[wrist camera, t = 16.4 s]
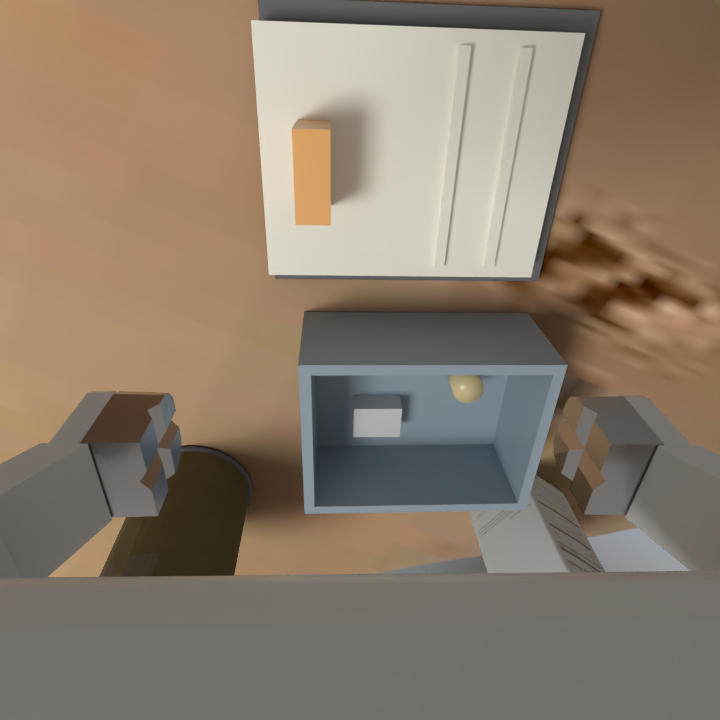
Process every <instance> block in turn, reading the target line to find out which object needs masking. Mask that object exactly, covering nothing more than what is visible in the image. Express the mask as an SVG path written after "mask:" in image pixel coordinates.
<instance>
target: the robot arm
mask: <svg viewBox="0 0 720 720" xmlns="http://www.w3.org/2000/svg"><path fill="white" fill-rule="evenodd" d="M175 410H176V409H175V405H174V401H173V397H172V396H171V395H170V394H169V393H158V392H123V391H119V392H116V391H92V392H90V393H87V394H86V395H85V397H84V398H83V399H82V401H81V402H80V403H79V404H78V406H77V407H76V408H75V410H74V411H73V412H72V414H71V415H70V416H69V417H68V419H67V420H66V421H65V423H64V424H63V425H62V427H61V428H60V429H59V431H58V432H57V433H56V434H55V436H54V437H53V438H52V440H51V441H50V442H49V443H40V444H38V445H36V446H34V447H32V448H31V449H29V450H27V451H25V452H23V453H21V454H19V455H17V456H15V457H13V458H11V459H9V460H8V461H6V462H4V463H2V464H0V720H720V455H718V454H716V453H714V452H712V451H710V450H708V449H706V448H704V447H702V446H692V445H691V443H690V442H689V441H688V440H687V439H686V438H685V437H684V436H683V435H682V434H681V433H680V432H679V431H678V429H677V428H676V427H675V426H674V425H673V424H672V423H671V422H670V421H669V420H668V419H667V418H666V416H665V415H664V414H663V413H662V412H661V411H660V410H659V409H658V408H657V407H656V406H655V405H654V404H653V402H652V401H651V400H650V399H649V398H646V397H644V396H642V395H640V396H617V397H570V398H569V399H568V401H567V402H566V404H565V407H564V410H563V415H564V416H565V418H566V420H567V422H565V423H564V424H563V425H562V426H561V427H560V428H558V429H557V432H556V436H555V440H554V456H555V460H556V463H557V466H558V468H559V470H560V472H561V473H562V474H563V475H565V476H566V477H567V478H569V479H570V480H572V481H573V482H572V485H571V488H570V490H571V492H572V494H573V496H574V498H575V499H576V501H577V503H578V505H579V507H580V509H581V510H582V512H583V514H584V515H625V516H626V518H627V519H628V520H629V521H630V522H632V523H633V524H634V525H635V526H636V527H638V528H639V529H640V530H641V531H643V532H644V533H645V534H646V535H647V536H649V537H650V538H651V539H652V540H654V541H655V542H656V543H657V544H658V545H660V546H661V547H662V548H663V549H665V550H666V551H667V552H668V553H669V554H671V555H672V556H673V557H674V558H676V559H677V560H678V561H679V562H680V563H682V564H683V565H684V566H685V567H687V568H688V569H689V570H690V571H666V572H664V571H661V572H660V571H659V572H658V571H657V572H551V573H440V574H439V573H438V574H437V573H435V574H340V575H242V576H140V577H48V576H49V575H50V574H51V573H53V572H54V571H55V570H56V569H57V568H58V567H59V566H60V565H62V564H63V563H64V562H65V561H66V560H67V559H68V558H70V557H71V556H72V555H73V554H74V553H75V552H76V551H77V550H79V549H80V548H81V547H82V546H83V545H84V544H85V543H87V542H88V541H89V540H90V539H91V538H92V537H93V536H94V535H96V534H97V533H98V532H99V531H100V530H101V529H102V528H104V527H105V526H106V525H107V524H108V523H109V522H110V521H111V520H112V517H144V516H158V515H159V512H160V510H161V507H162V505H163V502H164V500H165V497H166V495H167V492H168V490H169V489H168V485H167V479H168V478H169V477H171V476H172V475H173V474H175V472H176V470H177V467H178V464H179V460H180V454H181V435H180V430H179V427H178V426H177V425H176V424H175V423H174V422H173V421H171V419H172V417H173V415H174V413H175Z"/></svg>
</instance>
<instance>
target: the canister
mask: <svg viewBox="0 0 720 720" xmlns="http://www.w3.org/2000/svg"><path fill="white" fill-rule="evenodd" d="M167 485H168V489H169V490H168V492H167V495H166V497H165V500H164V502H163V505H162V507H161V510H160V512H159V515H158V516H144V517H126V519H125V521H124V523H123V525H122V528H121V530H120V532H119V534H118V537H117V539H116V541H115V543H114V545H113V548H112V550H111V552H110V554H109V556H108V559H107V561H106V563H105V565H104V567H103V570H102V572H101V574H100V576H99V577H140V576H234V573H235V567H236V562H237V557H238V552H239V546H240V541H241V536H242V531H243V525H244V520H245V515H246V510H247V507H248V505H249V504H250V501H251V499H252V492H253V487H252V483H251V479H250V476H249V475H248V473H247V472H246V471H245V469H244V468H243V467H242V466H241V465H240V464H239V463H238V462H237V461H235V460H234V459H233V458H231V457H230V456H228V455H226V454H225V453H222V452H220V451H217V450H214V449H209V448H204V447H196V446H187V447H181V454H180V460H179V464H178V467H177V470H176V472H175V474H173V475H172V476H171V477H169V478H168V479H167Z"/></svg>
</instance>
